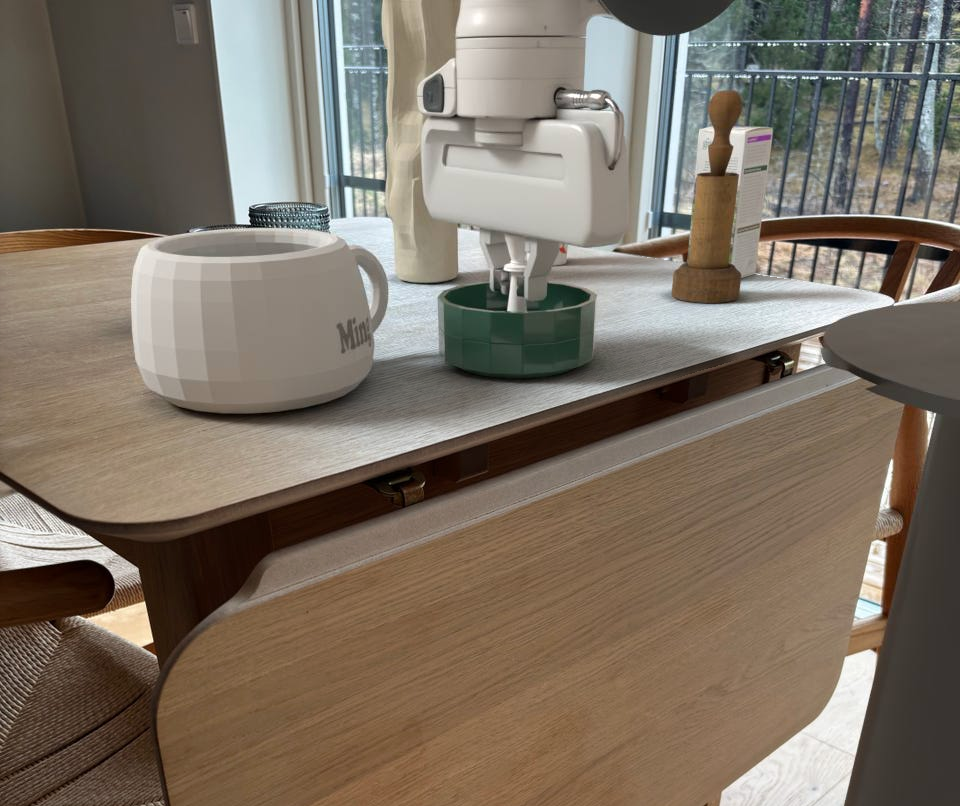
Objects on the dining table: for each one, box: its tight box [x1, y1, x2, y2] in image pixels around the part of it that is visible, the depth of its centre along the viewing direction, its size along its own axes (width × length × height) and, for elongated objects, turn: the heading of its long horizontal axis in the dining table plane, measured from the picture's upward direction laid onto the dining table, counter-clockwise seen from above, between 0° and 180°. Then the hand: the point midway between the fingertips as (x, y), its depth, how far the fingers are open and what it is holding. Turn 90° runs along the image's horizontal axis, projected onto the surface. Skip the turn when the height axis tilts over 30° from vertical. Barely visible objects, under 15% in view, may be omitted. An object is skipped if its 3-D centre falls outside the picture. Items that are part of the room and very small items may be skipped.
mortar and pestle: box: [670, 89, 743, 304], centre depth 93 cm, size 7×6×18 cm
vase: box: [381, 0, 461, 284], centre depth 99 cm, size 9×8×30 cm
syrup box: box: [686, 125, 774, 279], centre depth 104 cm, size 6×6×14 cm
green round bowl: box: [437, 281, 598, 379], centre depth 76 cm, size 12×12×5 cm
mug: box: [130, 227, 389, 414], centre depth 70 cm, size 21×17×10 cm
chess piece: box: [504, 233, 527, 312], centre depth 74 cm, size 5×5×10 cm
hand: (517, 296), depth 75 cm, fingers closed on chess piece
